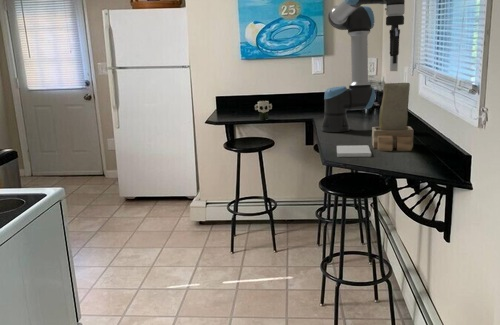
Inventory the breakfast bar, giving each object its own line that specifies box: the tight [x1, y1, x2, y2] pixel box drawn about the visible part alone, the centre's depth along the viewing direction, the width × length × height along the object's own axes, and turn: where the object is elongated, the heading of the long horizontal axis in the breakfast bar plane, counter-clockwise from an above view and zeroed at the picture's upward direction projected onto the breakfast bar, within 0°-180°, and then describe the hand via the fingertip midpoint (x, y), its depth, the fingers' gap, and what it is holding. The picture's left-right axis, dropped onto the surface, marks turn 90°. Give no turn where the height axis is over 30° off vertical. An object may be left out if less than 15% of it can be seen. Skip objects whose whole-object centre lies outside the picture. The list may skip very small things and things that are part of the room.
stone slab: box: [378, 82, 411, 130], centre depth 211 cm, size 12×4×30 cm, turn 80°
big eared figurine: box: [254, 100, 273, 121], centre depth 305 cm, size 11×7×13 cm, turn 92°
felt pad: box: [336, 144, 372, 158], centre depth 207 cm, size 16×14×2 cm
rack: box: [371, 125, 414, 149], centre depth 217 cm, size 10×17×8 cm, turn 81°
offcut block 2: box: [395, 135, 413, 152], centre depth 208 cm, size 4×6×6 cm, turn 81°
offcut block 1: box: [376, 136, 394, 152], centre depth 210 cm, size 4×6×6 cm, turn 81°
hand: (393, 70), depth 210 cm, fingers open, 3 cm apart
